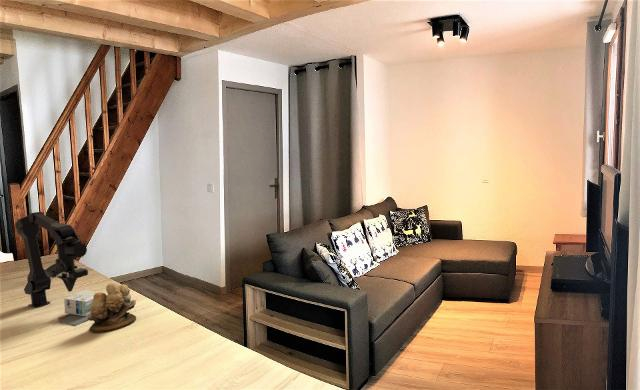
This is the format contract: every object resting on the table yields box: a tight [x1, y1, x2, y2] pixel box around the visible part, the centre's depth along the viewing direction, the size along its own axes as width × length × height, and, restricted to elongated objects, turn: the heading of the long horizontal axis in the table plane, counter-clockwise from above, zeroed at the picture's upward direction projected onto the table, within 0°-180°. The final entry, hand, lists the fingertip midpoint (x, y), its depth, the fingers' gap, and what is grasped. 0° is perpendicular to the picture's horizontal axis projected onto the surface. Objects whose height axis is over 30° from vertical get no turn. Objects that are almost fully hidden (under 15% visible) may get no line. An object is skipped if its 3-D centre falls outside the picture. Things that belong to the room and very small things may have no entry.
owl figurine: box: [88, 282, 137, 334], centre depth 173 cm, size 18×12×17 cm, turn 136°
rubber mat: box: [57, 314, 92, 327], centre depth 185 cm, size 11×18×1 cm, turn 152°
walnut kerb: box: [57, 313, 74, 321], centre depth 188 cm, size 1×16×1 cm, turn 152°
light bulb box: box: [63, 289, 99, 316], centre depth 188 cm, size 11×7×11 cm
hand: (70, 291), depth 188 cm, fingers closed
